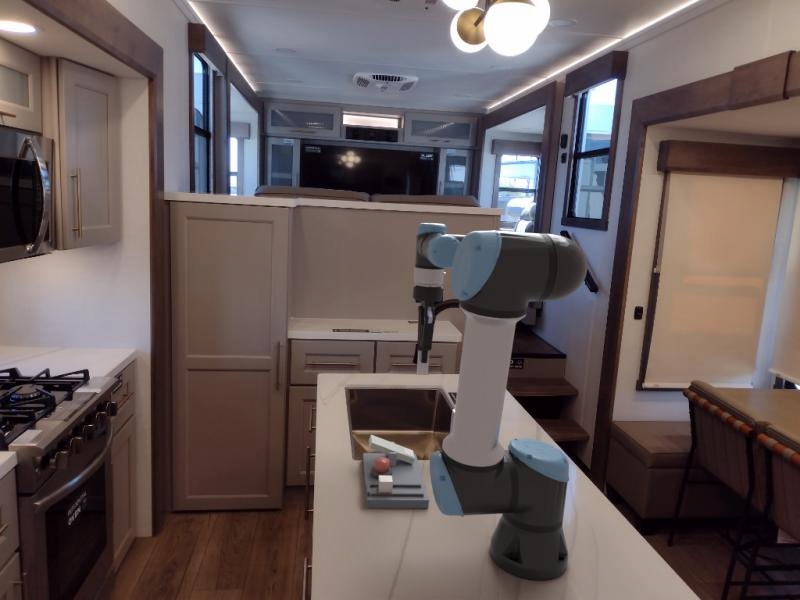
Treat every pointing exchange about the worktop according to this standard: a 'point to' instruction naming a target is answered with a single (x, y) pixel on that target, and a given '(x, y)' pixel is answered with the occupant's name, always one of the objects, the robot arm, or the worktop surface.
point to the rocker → (391, 449)
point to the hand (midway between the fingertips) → (422, 373)
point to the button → (381, 465)
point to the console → (395, 483)
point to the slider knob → (385, 484)
